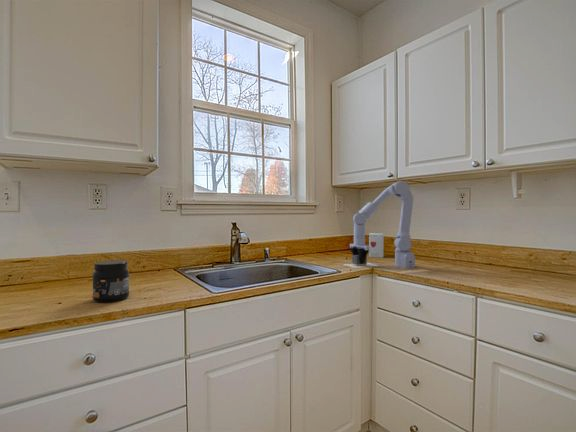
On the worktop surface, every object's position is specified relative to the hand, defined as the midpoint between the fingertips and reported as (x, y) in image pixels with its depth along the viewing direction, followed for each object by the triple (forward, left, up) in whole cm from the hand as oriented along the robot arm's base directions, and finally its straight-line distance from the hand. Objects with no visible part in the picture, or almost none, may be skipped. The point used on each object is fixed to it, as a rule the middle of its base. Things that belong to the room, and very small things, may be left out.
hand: (359, 262), depth 161 cm
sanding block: (0, 0, -1) cm, 1 cm away
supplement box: (+30, -34, -3) cm, 46 cm away
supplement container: (-19, +110, -3) cm, 111 cm away
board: (0, -1, -2) cm, 3 cm away
